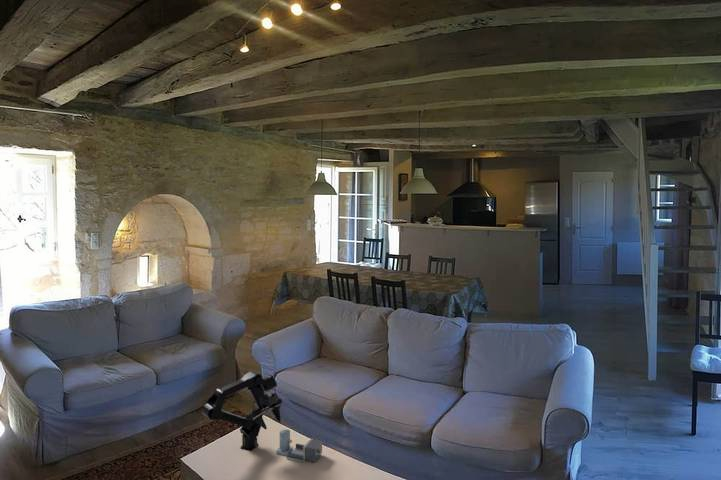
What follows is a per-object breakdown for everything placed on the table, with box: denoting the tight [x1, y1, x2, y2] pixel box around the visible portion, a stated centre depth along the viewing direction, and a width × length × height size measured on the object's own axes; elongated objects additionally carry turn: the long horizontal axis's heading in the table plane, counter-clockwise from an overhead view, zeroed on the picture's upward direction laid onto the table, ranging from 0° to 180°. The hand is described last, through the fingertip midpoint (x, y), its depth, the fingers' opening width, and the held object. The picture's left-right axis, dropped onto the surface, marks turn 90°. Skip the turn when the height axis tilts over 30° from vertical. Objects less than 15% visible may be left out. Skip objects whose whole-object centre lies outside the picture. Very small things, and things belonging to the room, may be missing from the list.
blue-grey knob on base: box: [275, 429, 294, 457], centre depth 236 cm, size 6×6×10 cm
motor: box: [286, 437, 323, 463], centre depth 233 cm, size 15×11×7 cm
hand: (273, 425), depth 236 cm, fingers open, 9 cm apart
